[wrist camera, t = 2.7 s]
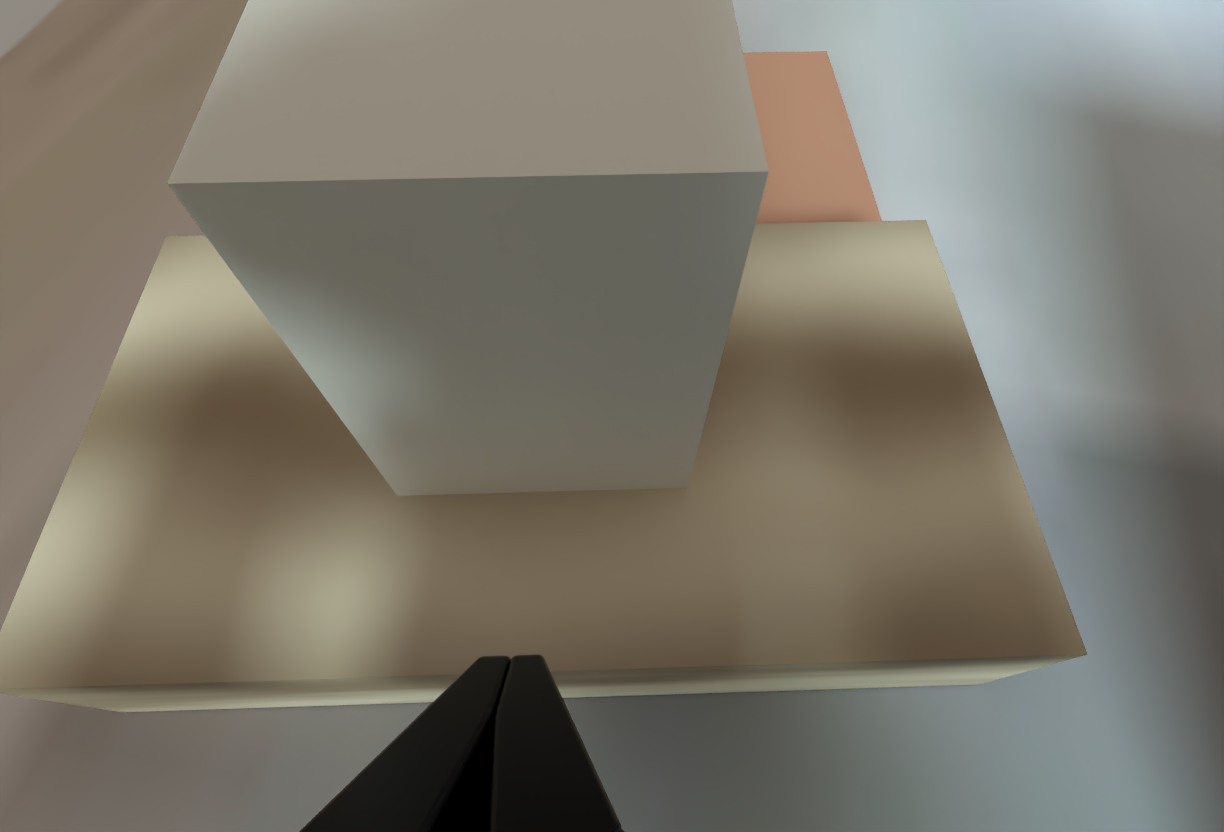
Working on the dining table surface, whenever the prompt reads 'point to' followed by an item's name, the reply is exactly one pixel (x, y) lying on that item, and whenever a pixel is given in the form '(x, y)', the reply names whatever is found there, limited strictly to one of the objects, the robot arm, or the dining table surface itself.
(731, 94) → the block
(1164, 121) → the dining table surface
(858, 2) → the dining table surface
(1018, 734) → the dining table surface
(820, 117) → the mat
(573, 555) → the board
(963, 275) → the dining table surface
